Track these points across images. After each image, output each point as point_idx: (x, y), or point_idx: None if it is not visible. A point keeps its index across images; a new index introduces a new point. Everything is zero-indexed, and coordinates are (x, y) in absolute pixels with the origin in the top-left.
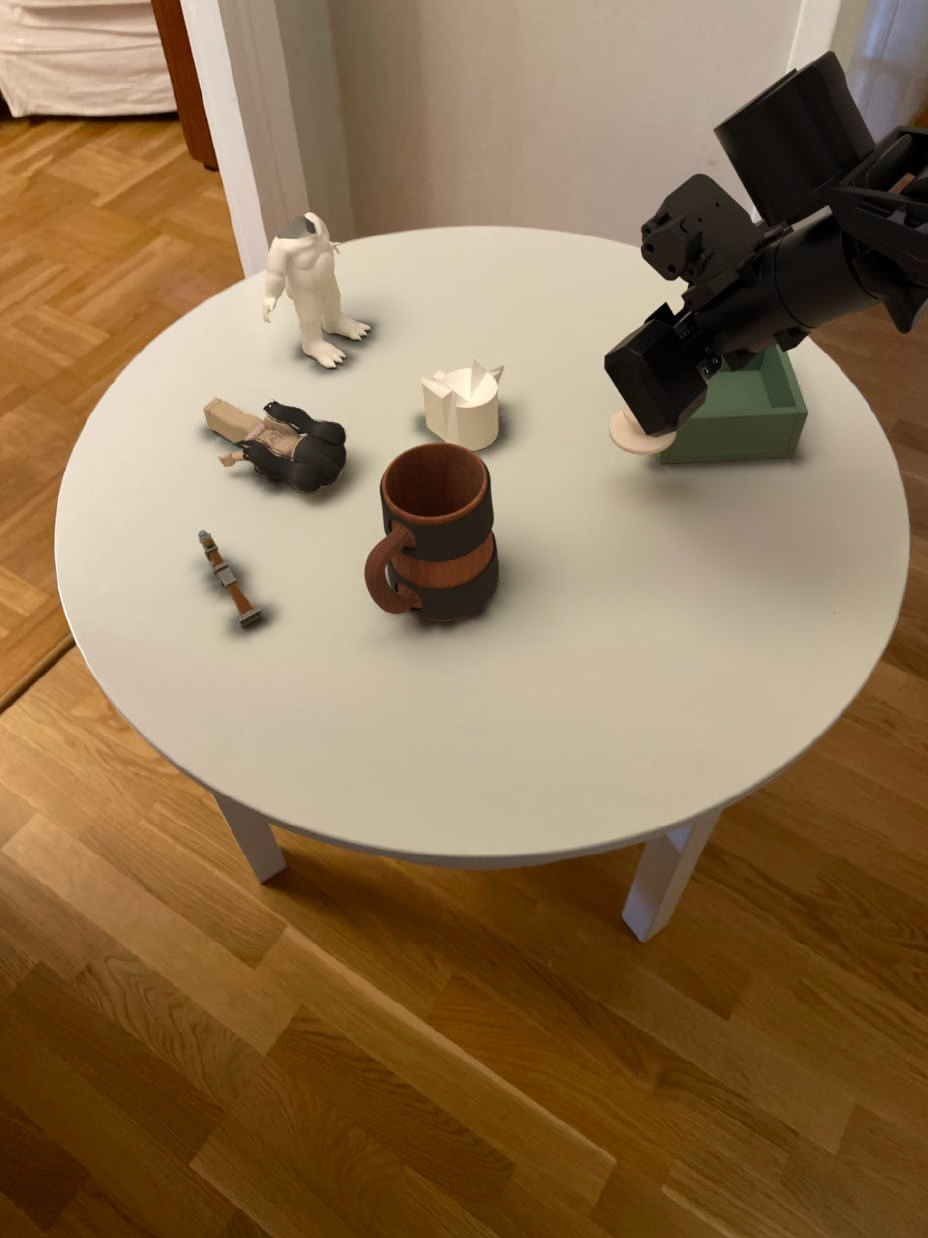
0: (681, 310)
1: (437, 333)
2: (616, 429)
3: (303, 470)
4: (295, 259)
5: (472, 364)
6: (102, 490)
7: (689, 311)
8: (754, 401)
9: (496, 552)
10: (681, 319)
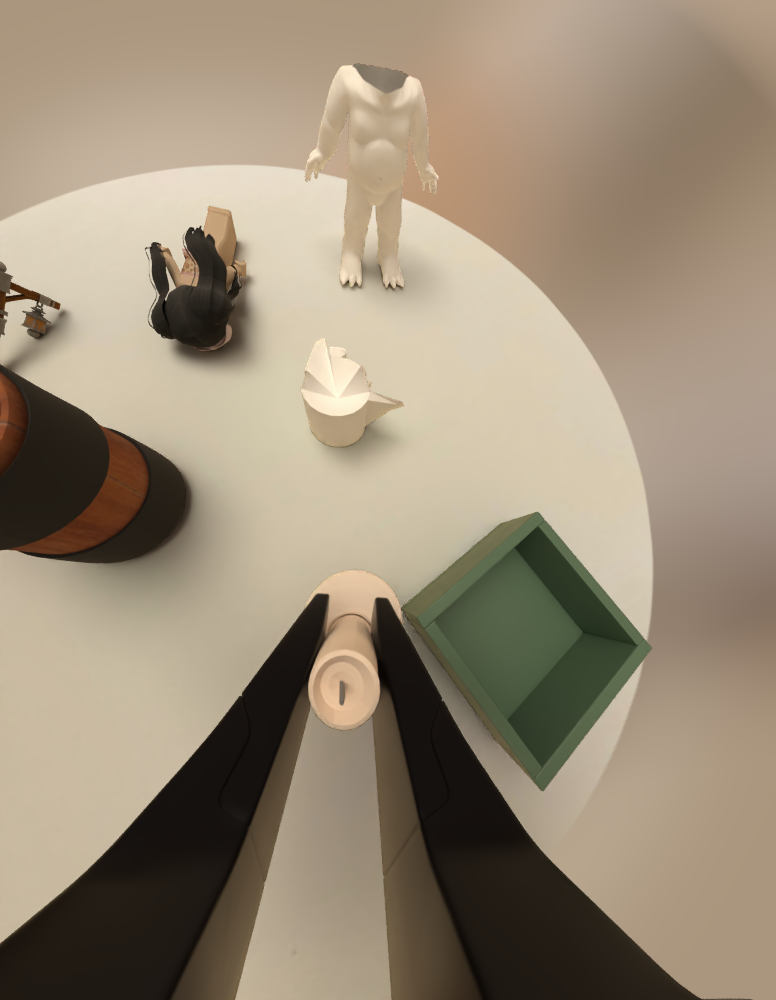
0: (422, 837)
1: (434, 337)
2: (328, 589)
3: (155, 308)
4: (351, 114)
5: (358, 370)
6: (109, 202)
7: (428, 901)
8: (539, 654)
9: (101, 549)
10: (410, 809)
